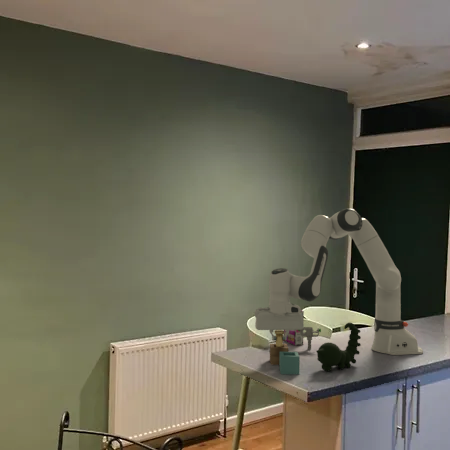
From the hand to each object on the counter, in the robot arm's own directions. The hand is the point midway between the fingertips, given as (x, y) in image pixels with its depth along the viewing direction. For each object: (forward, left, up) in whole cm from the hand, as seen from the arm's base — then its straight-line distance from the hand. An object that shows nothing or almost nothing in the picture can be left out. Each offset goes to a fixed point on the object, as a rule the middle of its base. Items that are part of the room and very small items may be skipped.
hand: (279, 340), depth 226 cm
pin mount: (0, 0, -9) cm, 9 cm away
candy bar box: (-10, -34, -10) cm, 37 cm away
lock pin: (0, 0, -9) cm, 9 cm away
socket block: (-3, +13, -9) cm, 16 cm away
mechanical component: (-16, -22, -10) cm, 29 cm away
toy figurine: (-23, +7, -10) cm, 26 cm away
